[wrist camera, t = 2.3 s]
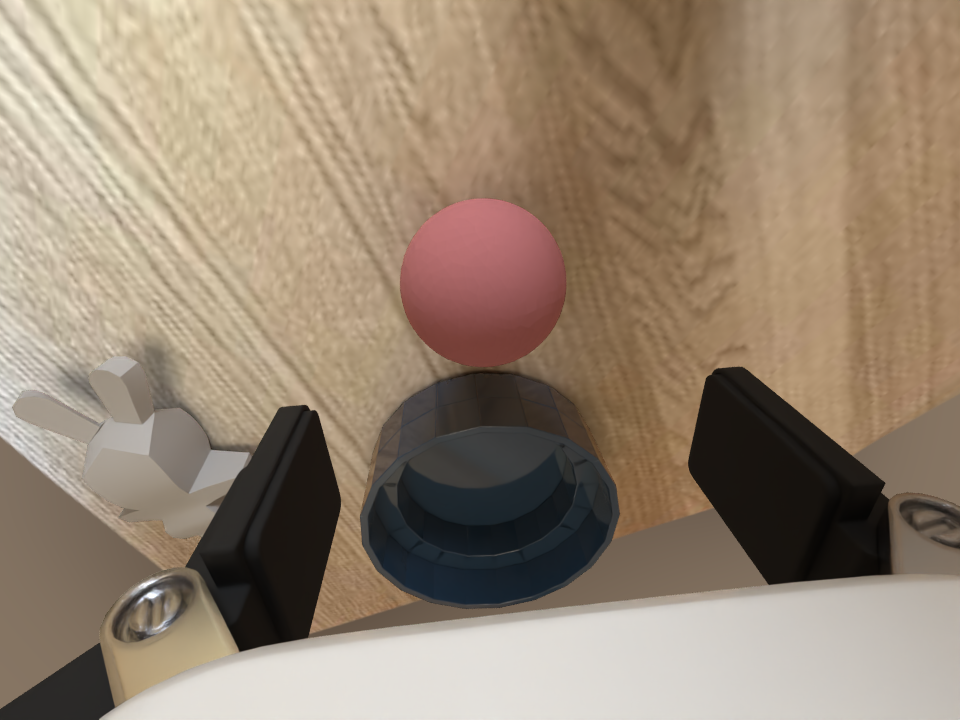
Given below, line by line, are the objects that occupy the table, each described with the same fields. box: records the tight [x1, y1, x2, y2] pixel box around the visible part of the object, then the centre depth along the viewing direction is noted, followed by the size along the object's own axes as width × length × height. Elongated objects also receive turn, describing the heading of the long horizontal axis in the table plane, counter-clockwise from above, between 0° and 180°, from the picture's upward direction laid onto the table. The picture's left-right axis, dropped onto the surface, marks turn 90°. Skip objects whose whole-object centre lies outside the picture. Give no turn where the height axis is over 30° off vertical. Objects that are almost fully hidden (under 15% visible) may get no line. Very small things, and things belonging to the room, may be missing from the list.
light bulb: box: [400, 198, 566, 367], centre depth 22 cm, size 7×7×12 cm
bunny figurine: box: [12, 356, 252, 539], centre depth 30 cm, size 10×5×15 cm
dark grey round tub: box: [360, 373, 620, 609], centre depth 33 cm, size 17×17×6 cm
